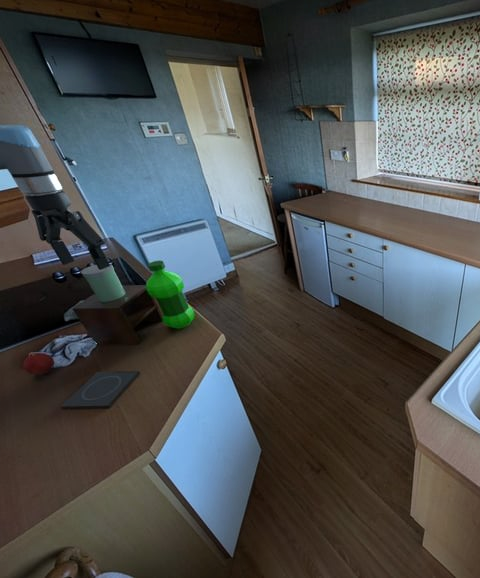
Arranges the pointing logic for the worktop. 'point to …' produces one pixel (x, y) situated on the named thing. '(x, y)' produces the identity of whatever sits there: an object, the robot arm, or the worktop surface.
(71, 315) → the packaged food
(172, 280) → the plastic bottle
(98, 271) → the jar
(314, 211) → the worktop surface
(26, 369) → the red rounded lump
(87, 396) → the hob
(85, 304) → the shelf rack
